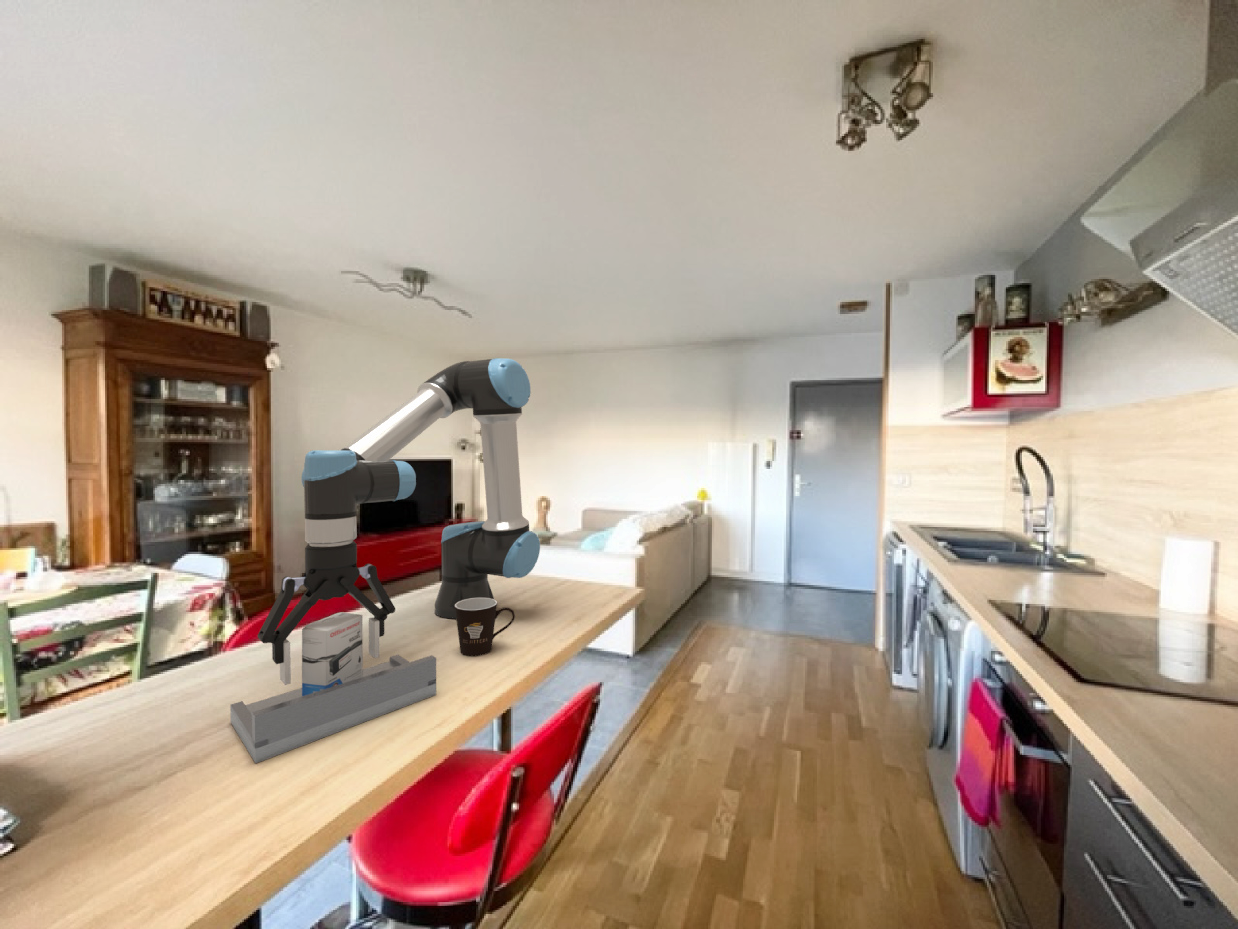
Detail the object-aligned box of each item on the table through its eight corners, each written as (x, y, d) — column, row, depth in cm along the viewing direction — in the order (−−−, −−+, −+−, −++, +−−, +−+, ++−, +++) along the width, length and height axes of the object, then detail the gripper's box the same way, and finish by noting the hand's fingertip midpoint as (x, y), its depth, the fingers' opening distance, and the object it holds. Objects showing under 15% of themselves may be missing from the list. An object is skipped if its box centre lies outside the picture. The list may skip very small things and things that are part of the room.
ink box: (326, 703, 80) (326, 630, 79) (300, 700, 81) (299, 627, 80) (364, 679, 88) (364, 613, 88) (340, 676, 89) (339, 611, 89)
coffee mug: (446, 656, 103) (446, 608, 103) (468, 640, 111) (468, 596, 111) (498, 662, 100) (498, 613, 100) (516, 646, 109) (516, 600, 108)
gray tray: (397, 668, 97) (397, 635, 97) (436, 694, 87) (436, 657, 87) (230, 722, 78) (230, 681, 77) (255, 763, 67) (254, 716, 67)
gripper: (396, 531, 95) (396, 641, 96) (233, 549, 77) (235, 686, 77) (414, 535, 90) (414, 652, 91) (245, 557, 72) (247, 703, 72)
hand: (332, 668), depth 84 cm, fingers open, 13 cm apart
